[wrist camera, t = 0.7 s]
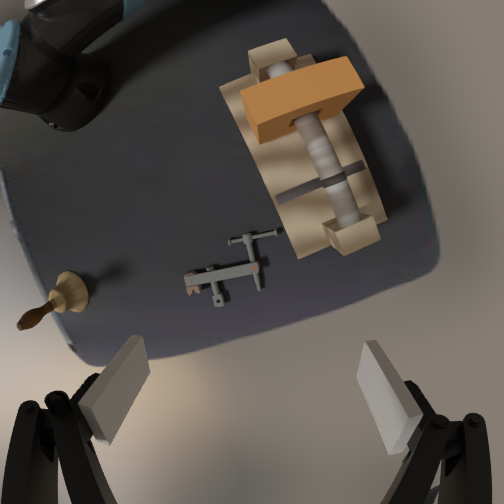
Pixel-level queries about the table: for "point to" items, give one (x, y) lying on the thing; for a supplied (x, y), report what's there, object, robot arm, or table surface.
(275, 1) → the table surface
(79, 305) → the hand bell
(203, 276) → the clamp
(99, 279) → the table surface
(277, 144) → the pipe rig
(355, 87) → the orange slotted block
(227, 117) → the table surface
